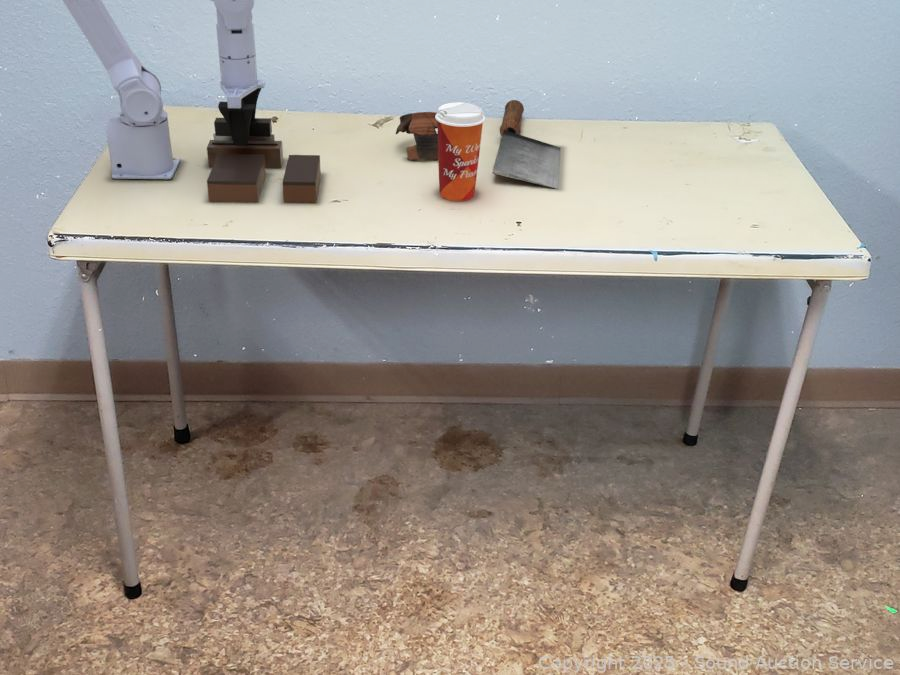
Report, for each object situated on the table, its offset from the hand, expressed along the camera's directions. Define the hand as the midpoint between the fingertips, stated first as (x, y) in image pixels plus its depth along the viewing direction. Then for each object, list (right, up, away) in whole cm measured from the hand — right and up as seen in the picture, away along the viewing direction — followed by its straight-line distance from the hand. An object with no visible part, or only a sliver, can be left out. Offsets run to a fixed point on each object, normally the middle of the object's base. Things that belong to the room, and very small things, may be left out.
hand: (244, 136), depth 158 cm
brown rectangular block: (+11, -9, -5) cm, 15 cm away
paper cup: (+35, -10, -5) cm, 37 cm away
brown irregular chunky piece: (+30, -1, +10) cm, 32 cm away
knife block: (0, -4, +3) cm, 5 cm away
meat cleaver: (+48, 0, +13) cm, 50 cm away
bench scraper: (0, -4, +3) cm, 5 cm away
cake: (0, -9, -6) cm, 11 cm away
